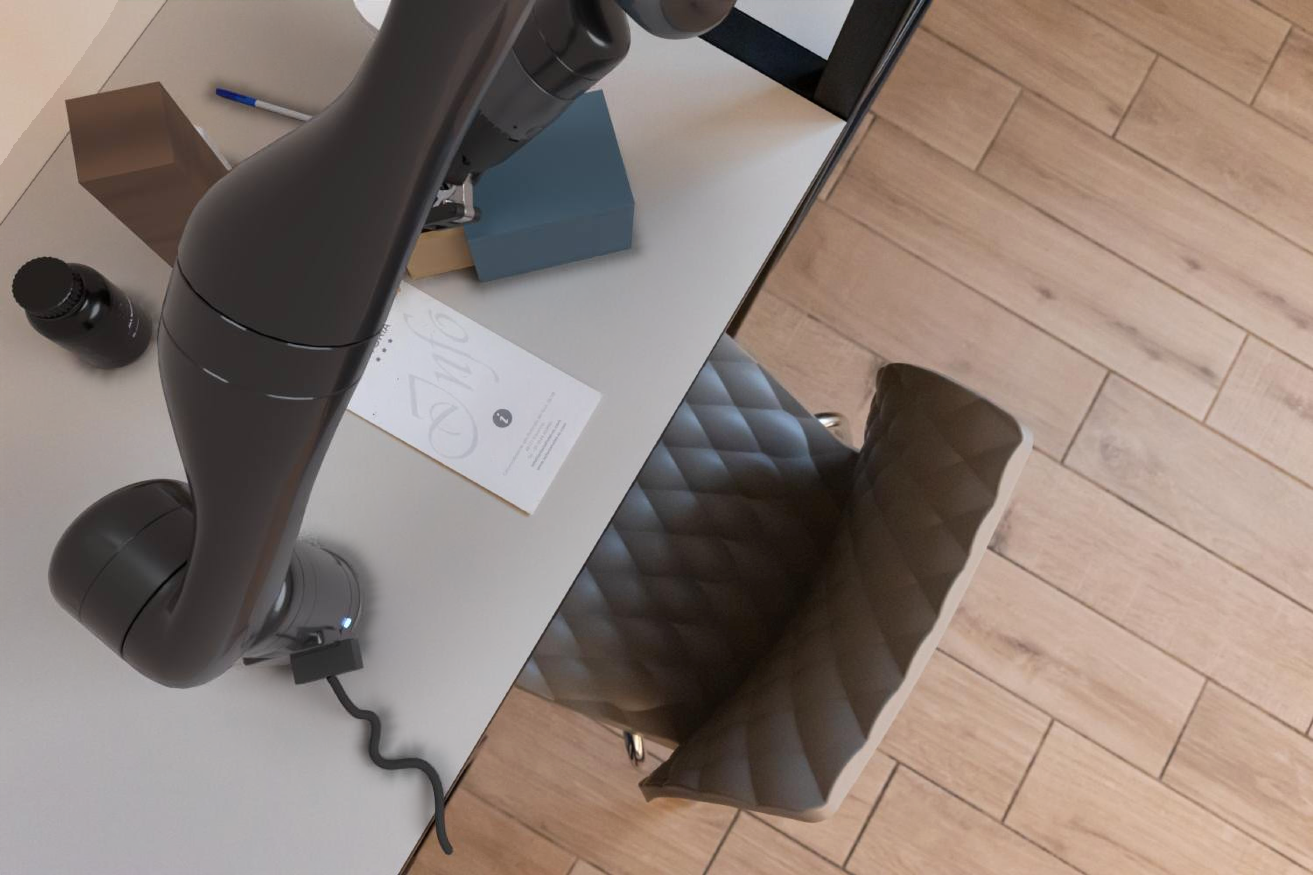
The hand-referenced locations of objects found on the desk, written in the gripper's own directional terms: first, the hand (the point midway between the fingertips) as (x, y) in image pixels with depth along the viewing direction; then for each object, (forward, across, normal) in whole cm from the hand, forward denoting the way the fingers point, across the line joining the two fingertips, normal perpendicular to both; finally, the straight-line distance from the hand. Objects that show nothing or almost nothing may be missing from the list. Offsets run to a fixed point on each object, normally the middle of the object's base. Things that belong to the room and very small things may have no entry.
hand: (382, 200), depth 83 cm
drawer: (+4, 0, +7) cm, 8 cm away
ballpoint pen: (+13, -17, 0) cm, 21 cm away
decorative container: (+1, -13, +12) cm, 18 cm away
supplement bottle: (+25, +2, -12) cm, 28 cm away
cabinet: (-3, 0, +16) cm, 16 cm away
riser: (+16, +2, -3) cm, 16 cm away
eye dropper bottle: (+18, -10, -5) cm, 22 cm away
